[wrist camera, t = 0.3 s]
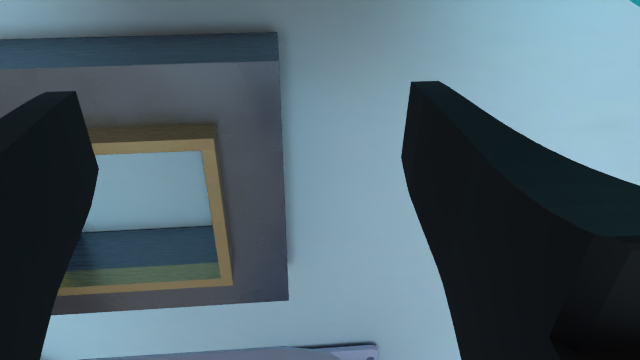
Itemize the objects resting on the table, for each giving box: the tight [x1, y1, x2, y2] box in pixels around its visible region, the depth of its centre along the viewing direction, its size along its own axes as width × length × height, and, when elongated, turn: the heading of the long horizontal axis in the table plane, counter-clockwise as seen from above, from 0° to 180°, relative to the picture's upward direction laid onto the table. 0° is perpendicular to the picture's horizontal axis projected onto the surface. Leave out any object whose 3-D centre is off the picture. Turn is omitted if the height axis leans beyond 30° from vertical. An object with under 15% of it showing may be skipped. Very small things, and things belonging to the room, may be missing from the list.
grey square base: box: [0, 33, 289, 315], centre depth 23 cm, size 13×13×4 cm
